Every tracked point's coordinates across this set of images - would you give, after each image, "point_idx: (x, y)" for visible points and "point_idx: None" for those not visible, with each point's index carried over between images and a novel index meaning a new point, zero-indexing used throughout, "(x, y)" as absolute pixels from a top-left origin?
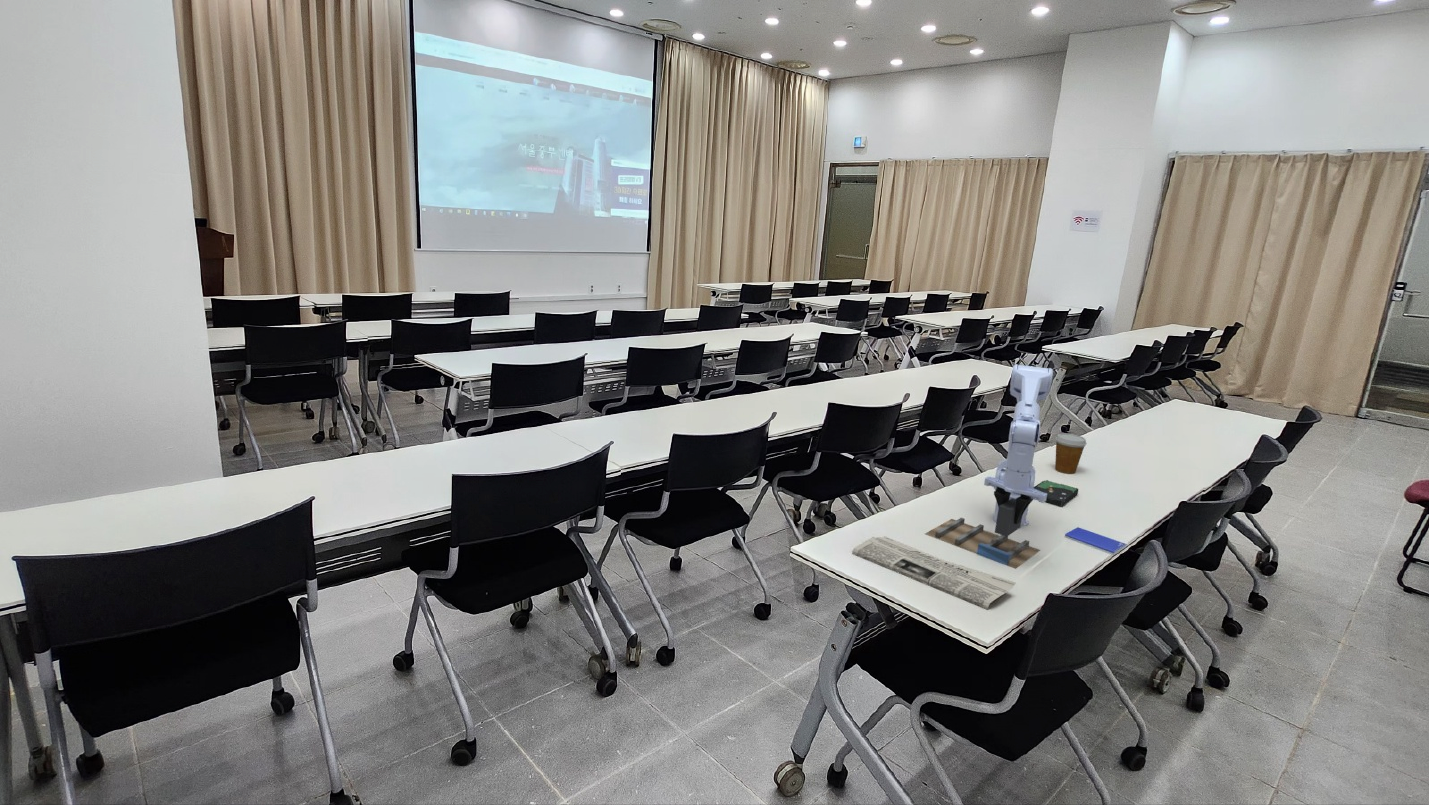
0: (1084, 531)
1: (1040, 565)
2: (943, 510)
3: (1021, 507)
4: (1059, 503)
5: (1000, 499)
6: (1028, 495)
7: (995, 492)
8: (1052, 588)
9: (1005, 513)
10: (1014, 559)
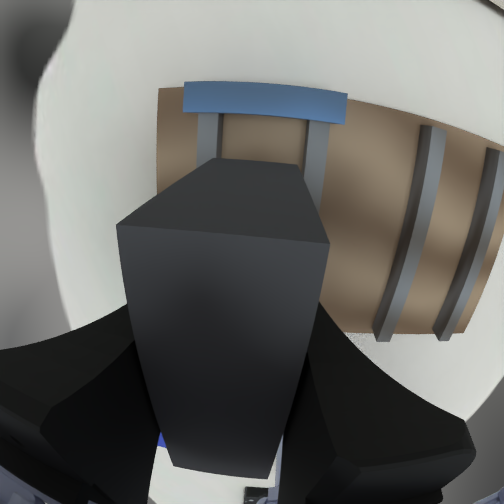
0: (160, 442)
1: (125, 217)
2: (472, 367)
3: (57, 342)
4: (249, 492)
5: (352, 401)
6: (18, 485)
7: (461, 460)
8: (51, 90)
9: (214, 204)
10: (192, 165)
